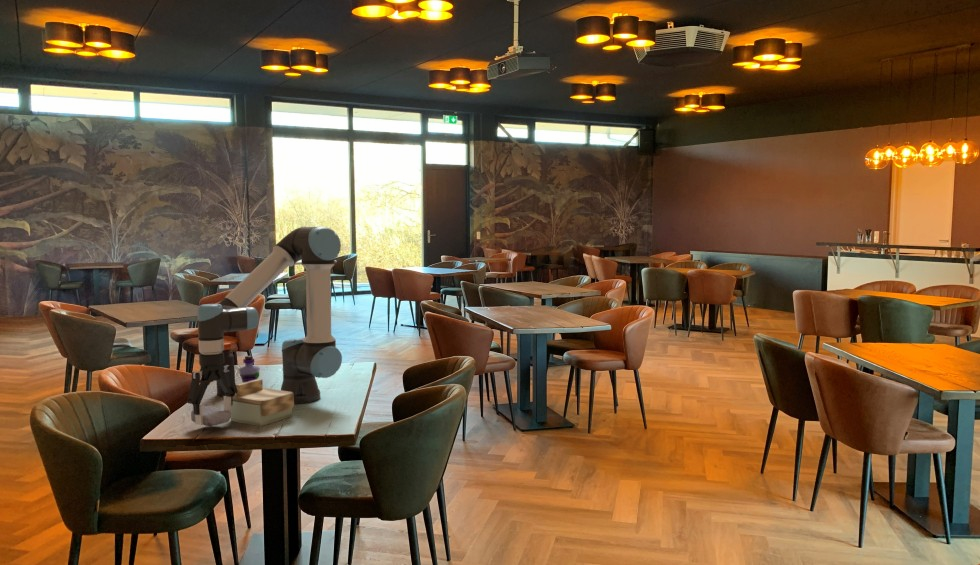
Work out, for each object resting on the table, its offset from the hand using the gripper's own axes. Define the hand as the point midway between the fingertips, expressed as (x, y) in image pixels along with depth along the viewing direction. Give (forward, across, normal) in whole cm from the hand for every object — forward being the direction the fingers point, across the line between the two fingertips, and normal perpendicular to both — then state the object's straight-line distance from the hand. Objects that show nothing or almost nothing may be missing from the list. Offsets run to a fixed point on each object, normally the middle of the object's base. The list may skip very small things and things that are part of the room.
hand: (214, 420), depth 231 cm
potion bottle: (+3, -50, -40) cm, 64 cm away
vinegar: (+3, -34, -35) cm, 49 cm away
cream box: (+3, -16, +4) cm, 17 cm away
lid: (-1, -16, +5) cm, 17 cm away
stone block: (+1, 0, 0) cm, 1 cm away
